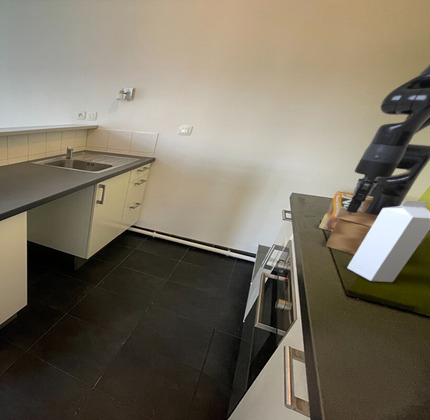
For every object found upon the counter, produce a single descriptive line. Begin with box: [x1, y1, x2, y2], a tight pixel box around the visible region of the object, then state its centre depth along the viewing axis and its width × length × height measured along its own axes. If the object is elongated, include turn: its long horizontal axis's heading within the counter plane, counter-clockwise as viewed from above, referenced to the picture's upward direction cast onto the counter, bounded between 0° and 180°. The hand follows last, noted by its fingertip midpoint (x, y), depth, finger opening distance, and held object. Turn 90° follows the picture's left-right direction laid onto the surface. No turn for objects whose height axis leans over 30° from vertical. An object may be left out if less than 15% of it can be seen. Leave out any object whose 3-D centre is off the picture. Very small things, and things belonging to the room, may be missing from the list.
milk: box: [346, 200, 430, 283], centre depth 64 cm, size 6×6×22 cm
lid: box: [336, 207, 378, 227], centre depth 78 cm, size 13×15×5 cm
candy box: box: [318, 190, 374, 232], centre depth 92 cm, size 9×4×15 cm, turn 33°
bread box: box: [325, 219, 371, 256], centre depth 81 cm, size 13×15×10 cm
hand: (351, 210), depth 82 cm, fingers closed on lid, 5 cm apart
